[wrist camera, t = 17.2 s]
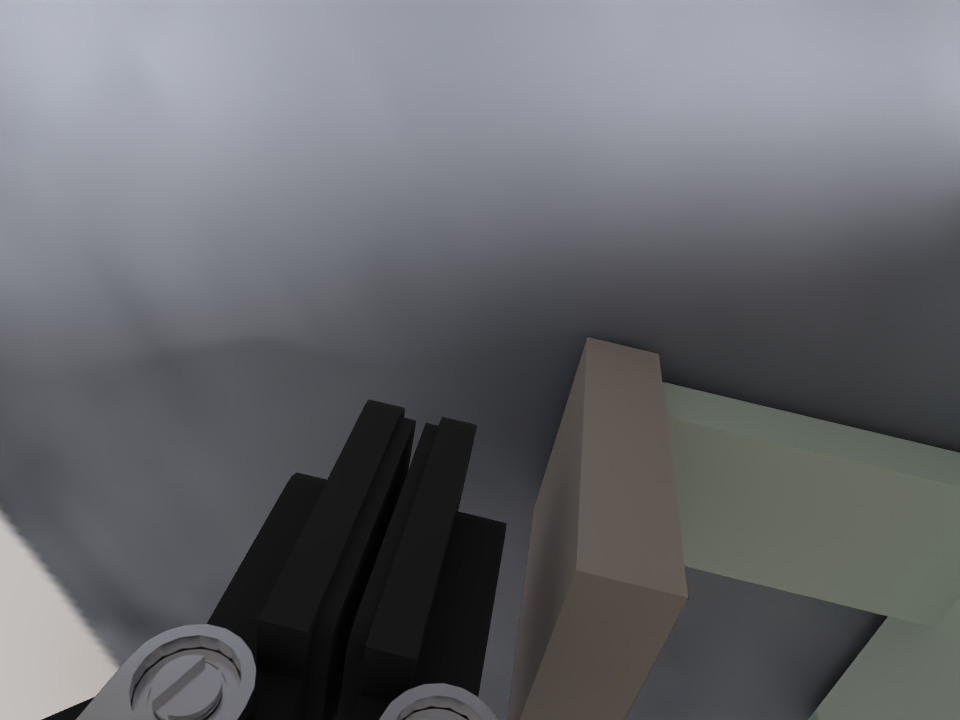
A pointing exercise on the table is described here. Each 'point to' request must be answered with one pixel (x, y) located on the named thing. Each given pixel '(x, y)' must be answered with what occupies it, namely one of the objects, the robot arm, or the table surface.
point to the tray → (730, 541)
